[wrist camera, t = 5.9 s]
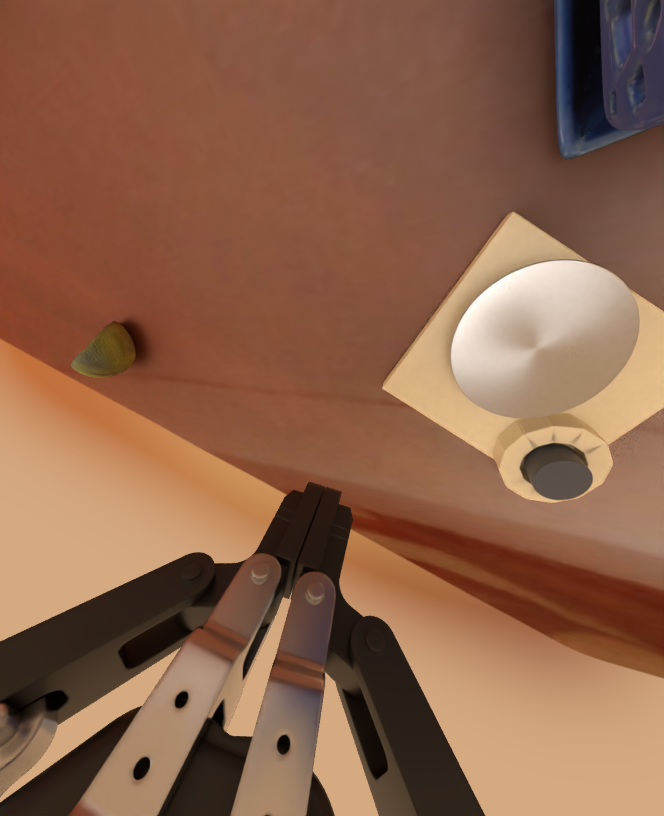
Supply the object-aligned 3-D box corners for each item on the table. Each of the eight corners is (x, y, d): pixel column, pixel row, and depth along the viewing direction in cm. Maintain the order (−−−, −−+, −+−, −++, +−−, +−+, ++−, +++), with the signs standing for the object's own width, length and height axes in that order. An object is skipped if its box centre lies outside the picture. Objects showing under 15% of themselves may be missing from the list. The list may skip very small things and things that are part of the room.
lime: (110, 358, 28) (55, 376, 24) (104, 308, 25) (40, 319, 21) (151, 374, 27) (102, 396, 23) (148, 325, 25) (93, 340, 21)
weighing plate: (419, 366, 18) (419, 368, 17) (533, 222, 13) (536, 221, 13) (533, 439, 18) (535, 443, 18) (682, 321, 14) (688, 322, 13)
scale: (379, 386, 22) (374, 404, 20) (507, 213, 16) (524, 205, 13) (536, 486, 23) (551, 515, 20) (722, 356, 16) (780, 376, 14)
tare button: (512, 465, 19) (520, 482, 18) (551, 435, 18) (563, 452, 16) (549, 488, 20) (560, 508, 18) (591, 461, 18) (606, 480, 16)
